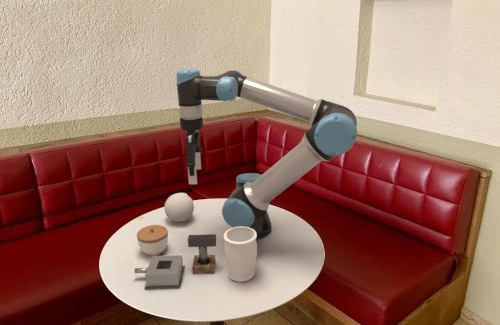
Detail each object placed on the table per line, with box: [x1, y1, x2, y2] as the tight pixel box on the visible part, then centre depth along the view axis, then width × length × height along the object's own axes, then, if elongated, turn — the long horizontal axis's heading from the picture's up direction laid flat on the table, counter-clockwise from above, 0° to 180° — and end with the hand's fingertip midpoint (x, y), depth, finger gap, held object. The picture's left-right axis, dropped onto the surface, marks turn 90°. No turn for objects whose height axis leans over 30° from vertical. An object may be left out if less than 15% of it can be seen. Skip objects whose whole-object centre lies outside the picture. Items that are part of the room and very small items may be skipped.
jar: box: [223, 226, 258, 283], centre depth 121 cm, size 11×10×15 cm
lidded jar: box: [136, 224, 169, 257], centre depth 135 cm, size 11×11×9 cm
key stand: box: [191, 254, 216, 275], centre depth 127 cm, size 7×7×2 cm
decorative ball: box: [163, 192, 195, 223], centre depth 156 cm, size 12×12×12 cm
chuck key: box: [187, 233, 217, 265], centre depth 125 cm, size 9×3×12 cm, turn 91°
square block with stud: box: [134, 254, 186, 290], centre depth 121 cm, size 15×11×5 cm
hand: (195, 176), depth 133 cm, fingers open, 13 cm apart
